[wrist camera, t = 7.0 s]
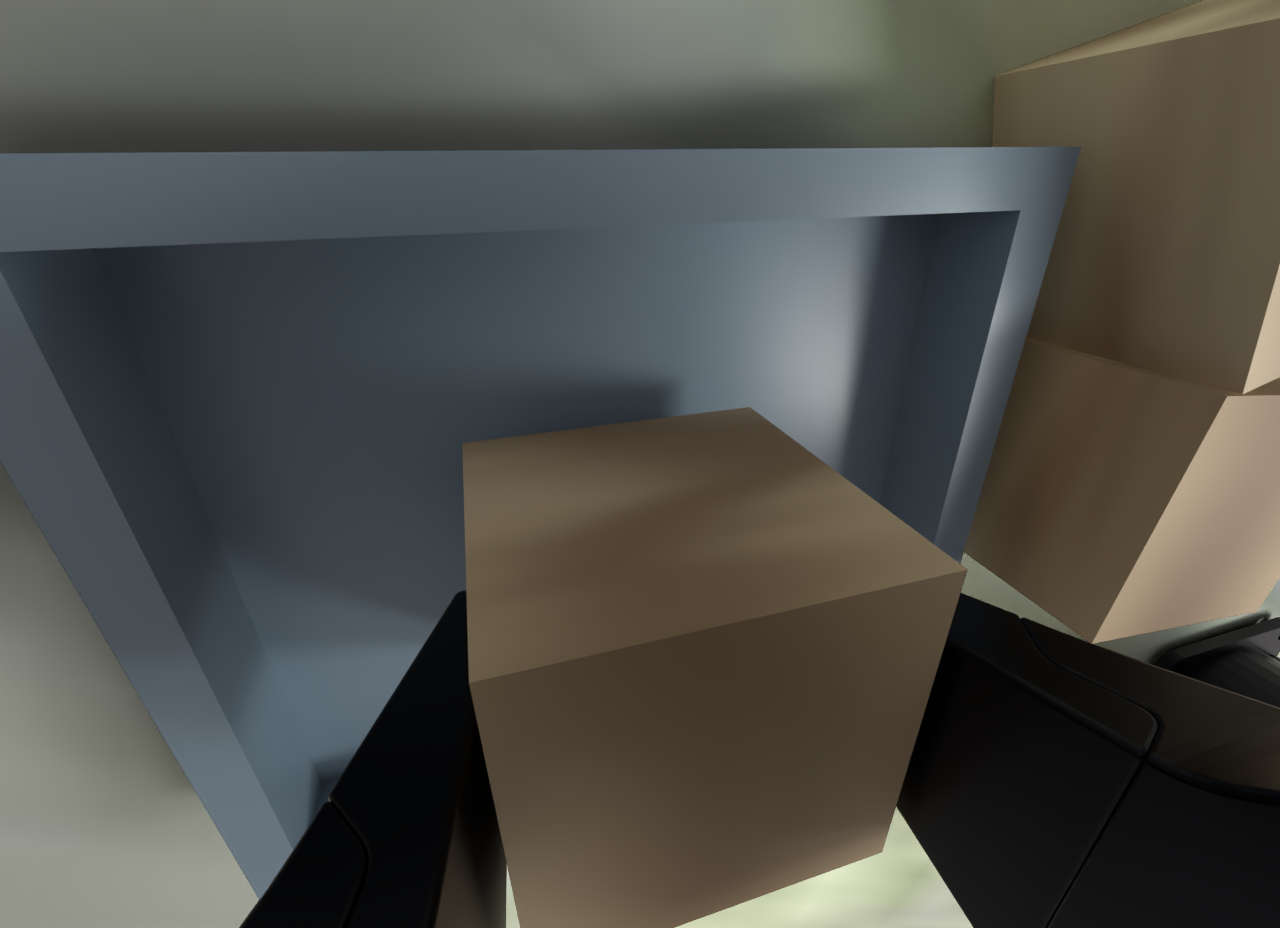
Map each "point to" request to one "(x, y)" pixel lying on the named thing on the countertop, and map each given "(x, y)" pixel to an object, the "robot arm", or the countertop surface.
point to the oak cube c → (1163, 191)
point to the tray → (455, 384)
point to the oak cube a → (689, 663)
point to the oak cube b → (1130, 495)
